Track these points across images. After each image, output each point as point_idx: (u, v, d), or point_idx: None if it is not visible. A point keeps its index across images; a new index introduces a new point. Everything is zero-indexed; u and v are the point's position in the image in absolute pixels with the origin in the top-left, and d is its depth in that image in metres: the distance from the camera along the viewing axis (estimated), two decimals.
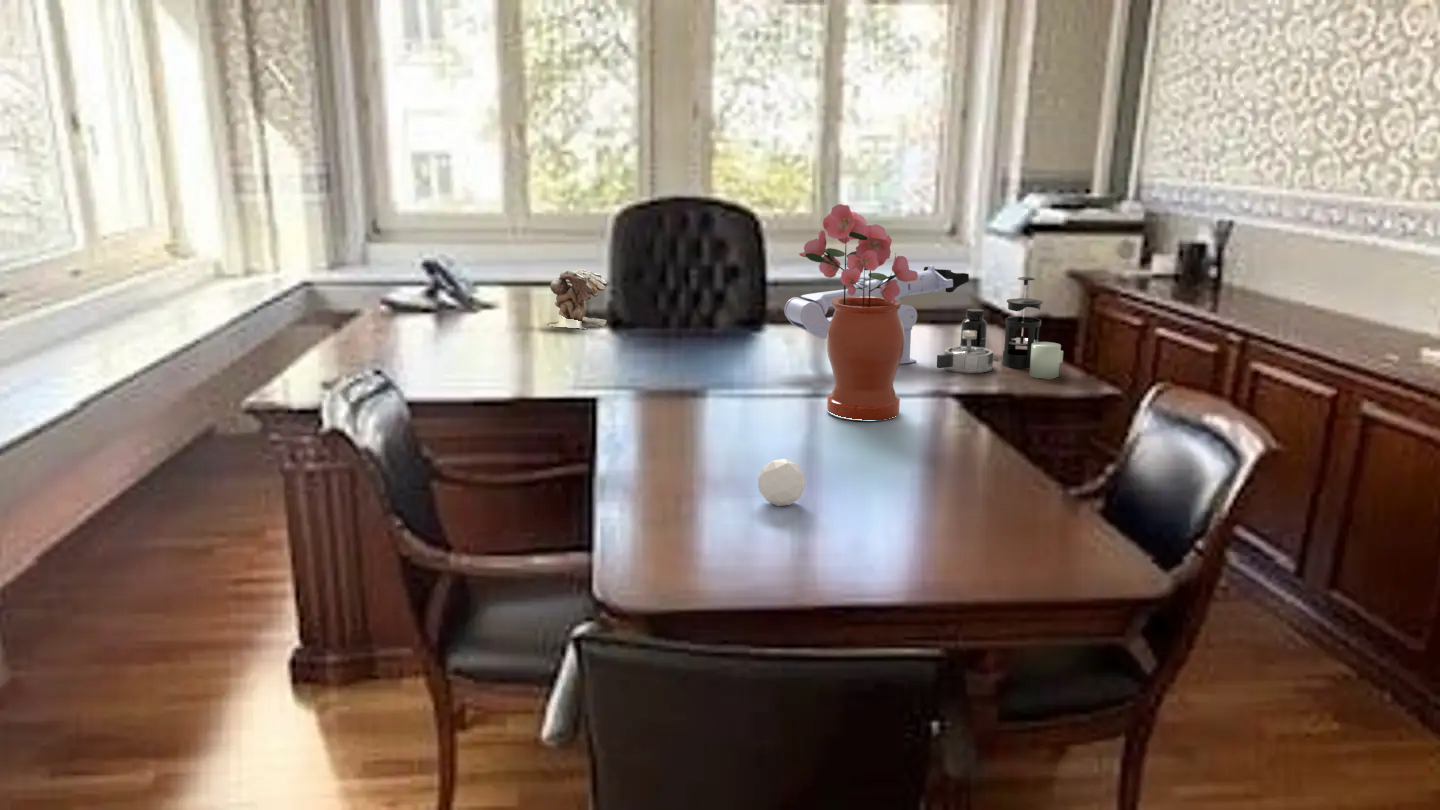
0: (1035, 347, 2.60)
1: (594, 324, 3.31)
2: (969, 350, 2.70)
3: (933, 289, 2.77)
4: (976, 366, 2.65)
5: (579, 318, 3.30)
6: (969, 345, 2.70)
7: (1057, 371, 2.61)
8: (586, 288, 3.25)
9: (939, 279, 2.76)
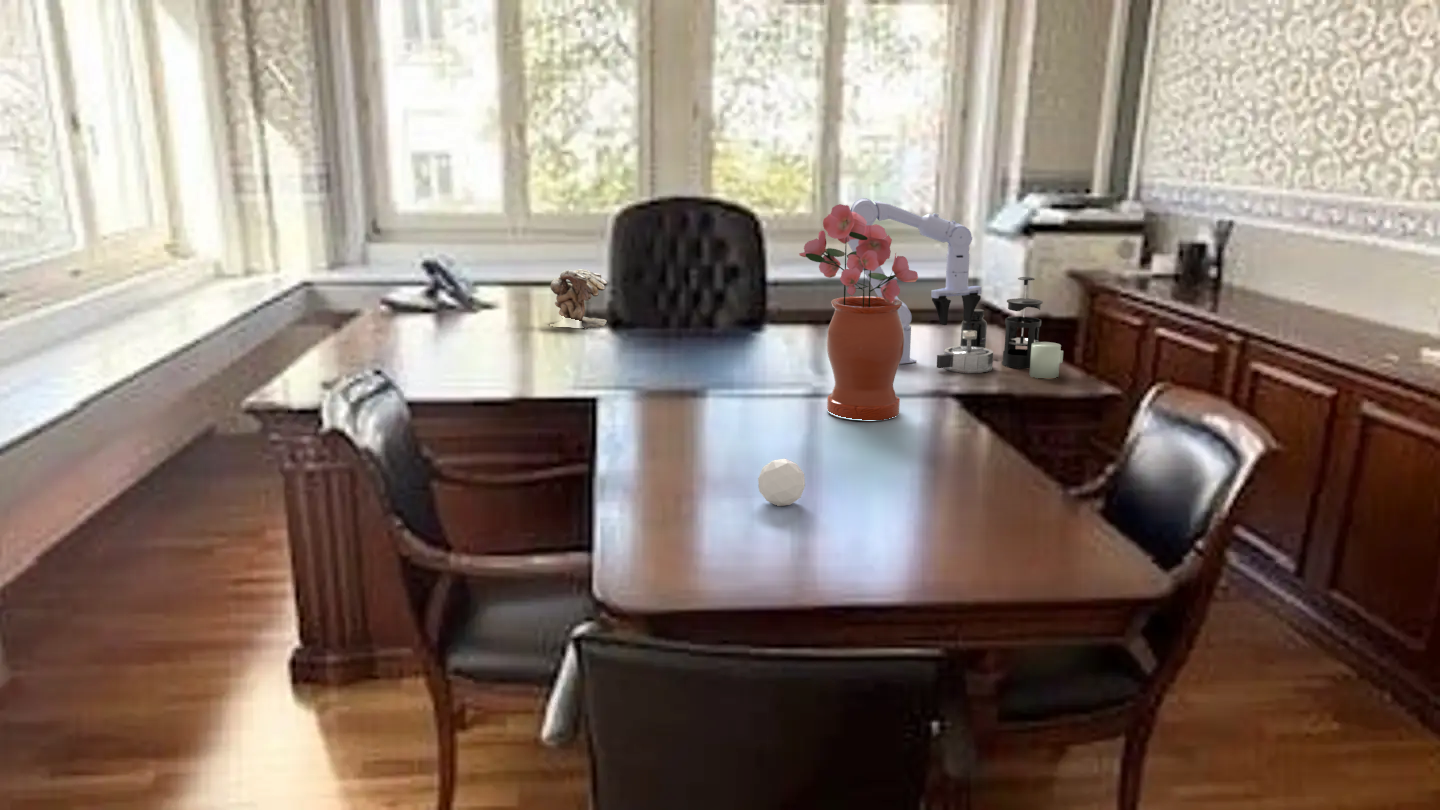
0: (1035, 347, 2.60)
1: (594, 324, 3.31)
2: (969, 350, 2.70)
3: None
4: (976, 366, 2.65)
5: (579, 318, 3.30)
6: (969, 345, 2.70)
7: (1057, 371, 2.61)
8: (586, 288, 3.25)
9: None
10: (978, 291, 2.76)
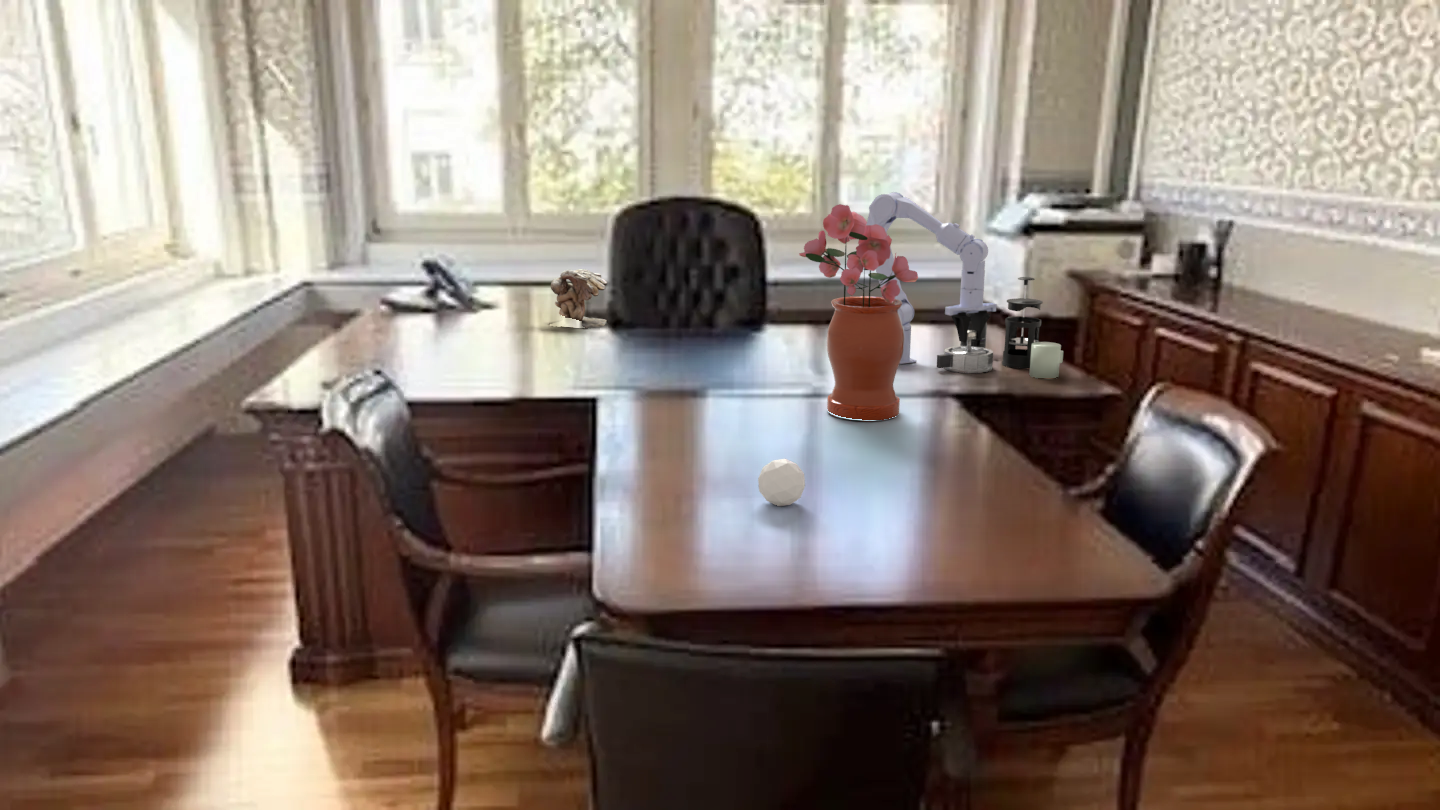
0: (1035, 347, 2.60)
1: (595, 324, 3.31)
2: (969, 350, 2.70)
3: None
4: (976, 366, 2.65)
5: (580, 318, 3.30)
6: (969, 345, 2.70)
7: (1057, 371, 2.61)
8: (587, 288, 3.26)
9: None
10: (993, 308, 2.69)
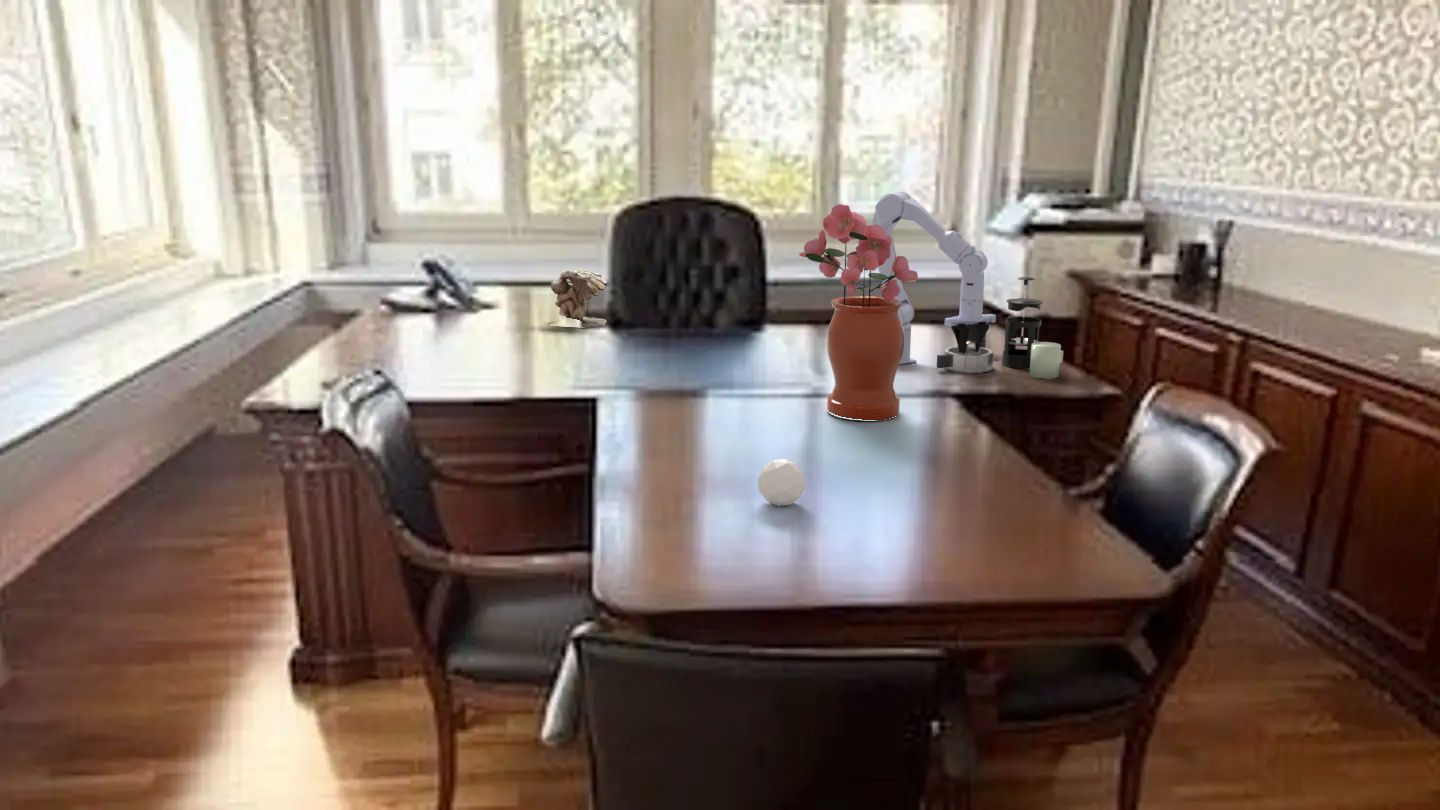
0: (1035, 347, 2.60)
1: (595, 324, 3.32)
2: None
3: None
4: (976, 366, 2.65)
5: (580, 318, 3.31)
6: None
7: (1057, 371, 2.61)
8: (587, 288, 3.26)
9: None
10: (992, 319, 2.70)
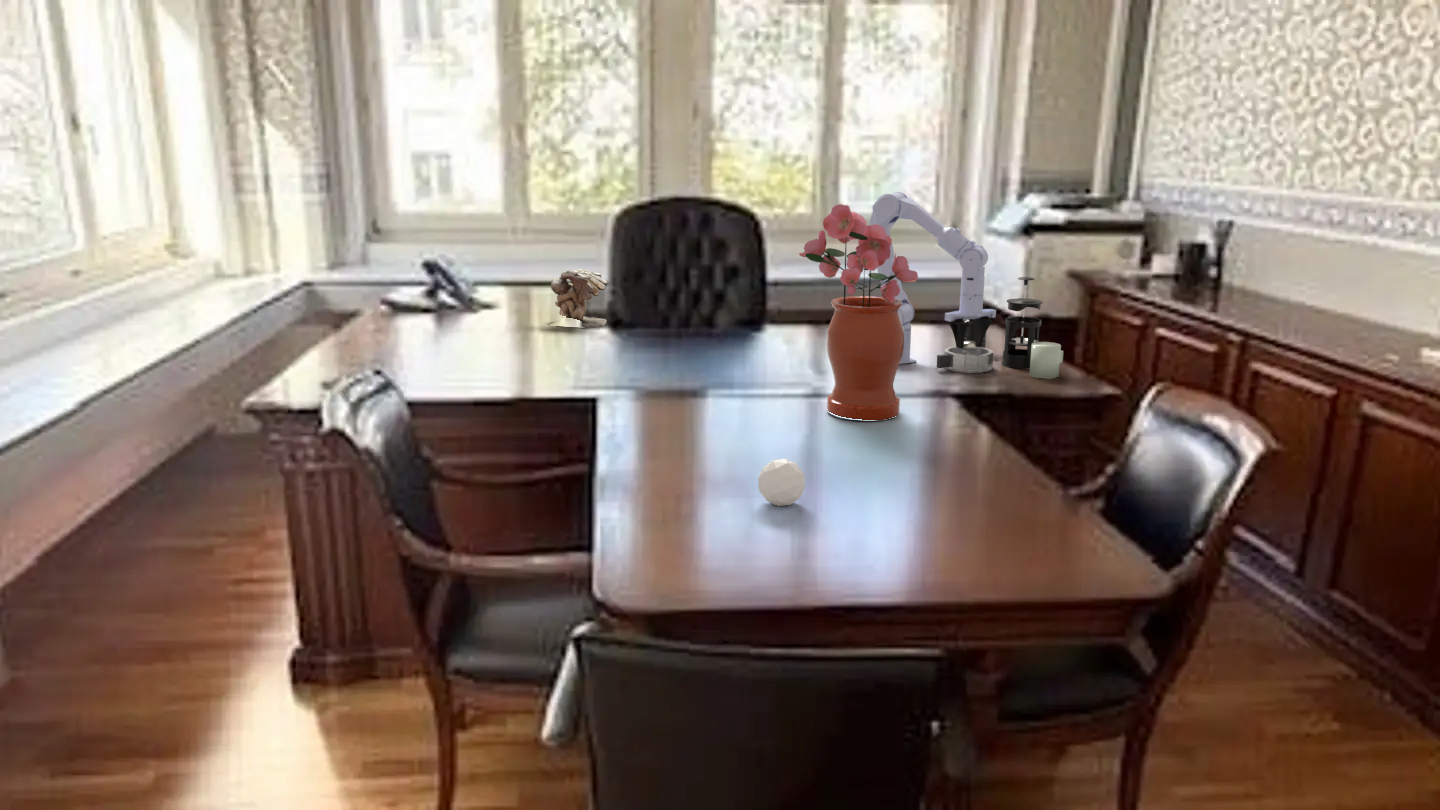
0: (1035, 347, 2.60)
1: (595, 323, 3.32)
2: None
3: None
4: (976, 366, 2.65)
5: (580, 317, 3.31)
6: None
7: (1057, 371, 2.61)
8: (587, 288, 3.26)
9: None
10: (992, 314, 2.70)
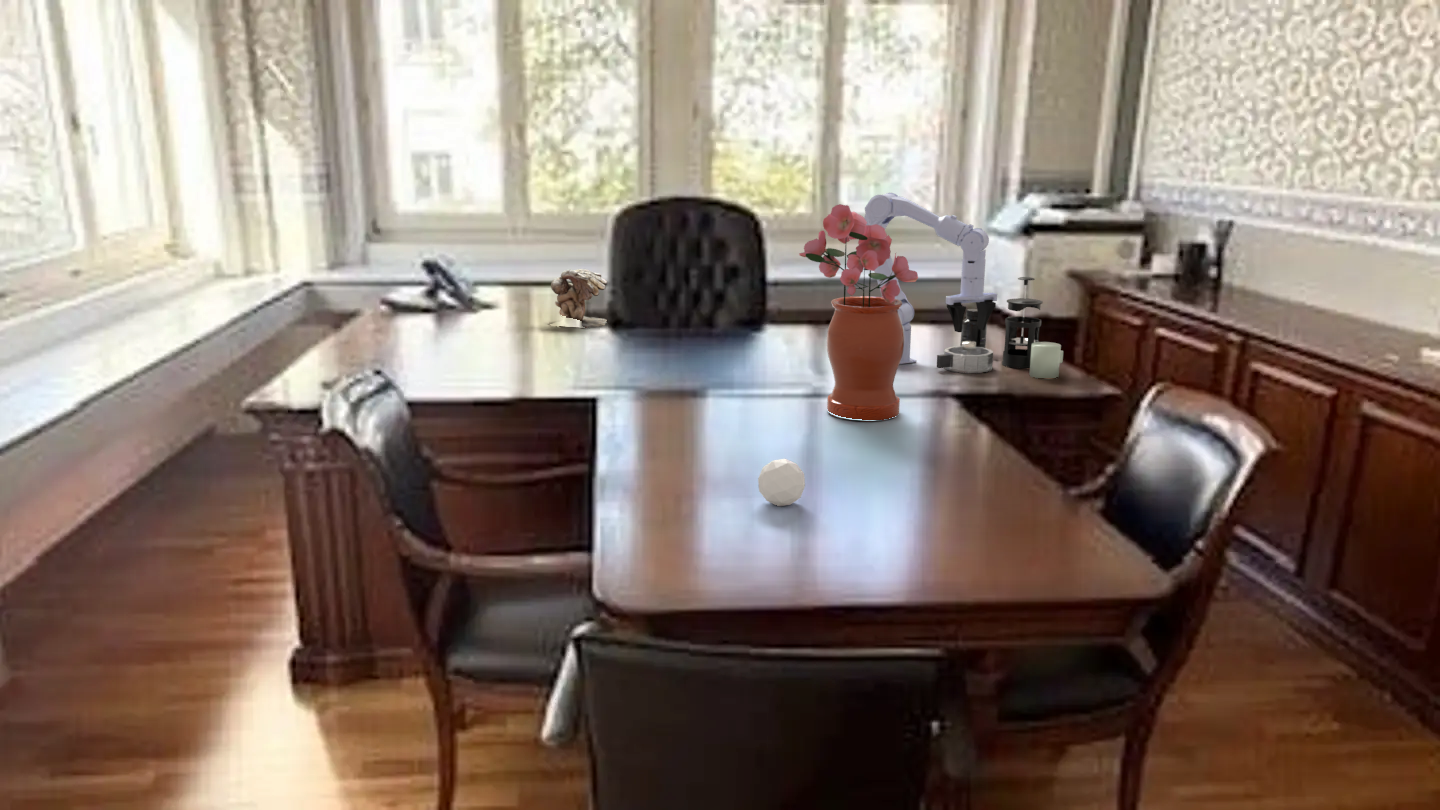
0: (1035, 347, 2.60)
1: (595, 323, 3.32)
2: None
3: (960, 292, 2.68)
4: (976, 366, 2.65)
5: (580, 317, 3.31)
6: None
7: (1057, 371, 2.61)
8: (587, 287, 3.26)
9: None
10: (994, 298, 2.69)
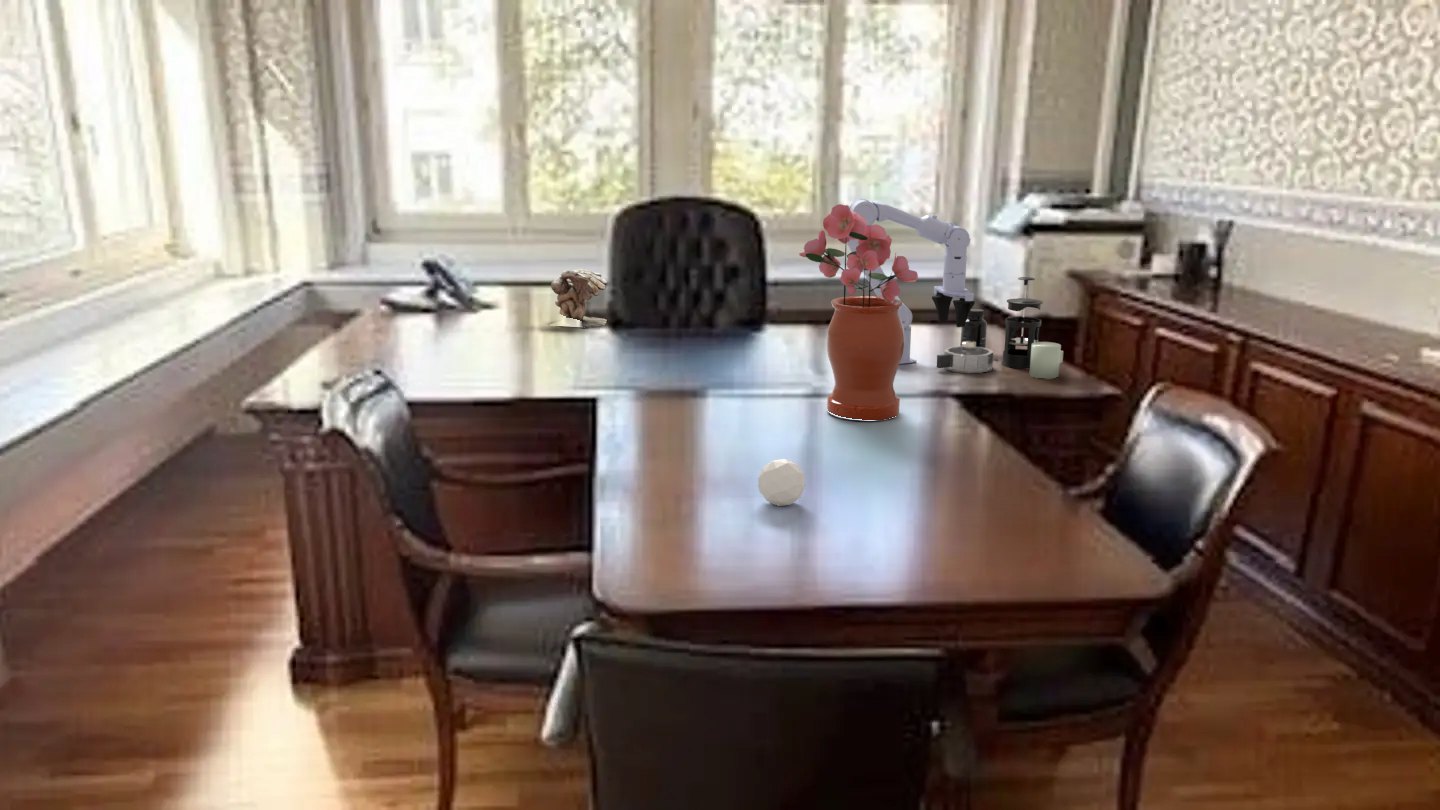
0: (1035, 347, 2.60)
1: (595, 323, 3.32)
2: None
3: (951, 289, 2.72)
4: (976, 366, 2.65)
5: (580, 317, 3.31)
6: None
7: (1057, 371, 2.61)
8: (588, 287, 3.26)
9: None
10: None
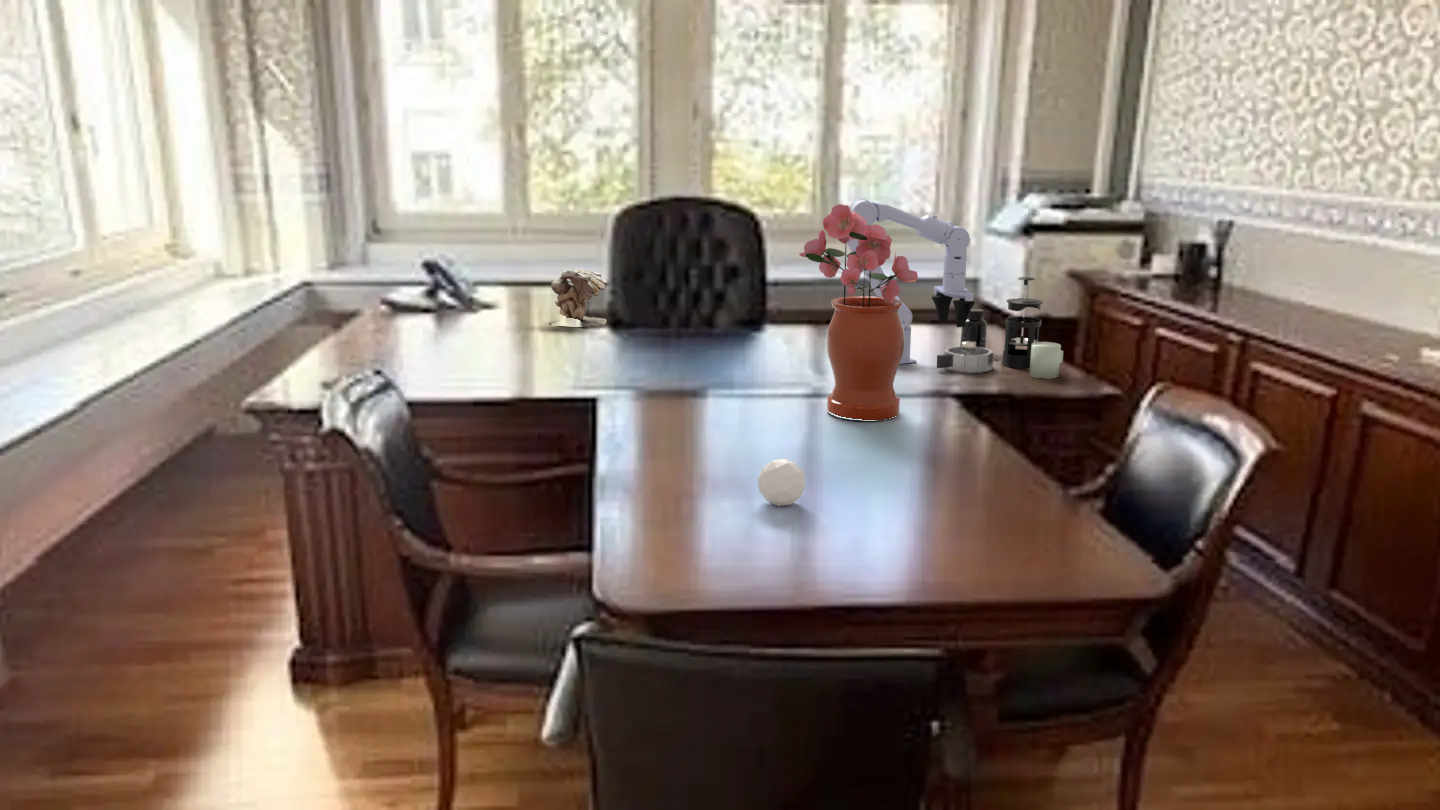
0: (1035, 347, 2.60)
1: (595, 323, 3.32)
2: None
3: (951, 289, 2.72)
4: (976, 366, 2.65)
5: (580, 317, 3.31)
6: None
7: (1057, 371, 2.61)
8: (588, 287, 3.27)
9: None
10: None
